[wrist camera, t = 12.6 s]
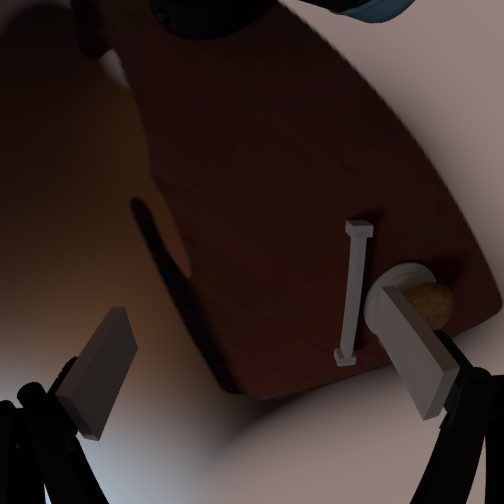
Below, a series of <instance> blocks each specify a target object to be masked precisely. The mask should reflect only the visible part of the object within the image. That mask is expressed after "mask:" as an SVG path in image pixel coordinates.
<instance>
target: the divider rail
mask: <svg viewBox="0 0 504 504" xmlns="http://www.w3.org/2000/svg"><path fill="white" fill-rule="evenodd" d="M346 232H347V233H348V234H349V235H350V236H351V247H350V261H349V273H348V284H347V294H346V304H345V313H344V321H343V329H342V337H341V344H340V348H335V351H334V357H335V360H336V363H337V365H338V367H339V366H347V365H355V362H356V355H355V353H354V351H353V345H354V339H355V333H356V326H357V320H358V313H359V305H360V298H361V290H362V281H363V272H364V262H365V251H366V238H367V237H373V225H372V224H370V223H369V222H368V221H366V220H346Z"/></svg>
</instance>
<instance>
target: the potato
mask: <svg viewBox="0 0 504 504" xmlns="http://www.w3.org/2000/svg"><path fill="white" fill-rule="evenodd" d="M401 294H402V295H403V296H404V297H405V299H406V300H407V301H408V302H409V303H410V304H411V306H412V307H413V308H414V309H415V310H416V312H417V313H418V314H419V315H420V316H421V318H422V319H423V320H424V321H425V323H426V324H427V325H428V326H429V328H430V329H431V330H432V331H433V330H437V329H439V330H440V328H441V327H442V326H443V325H444V324H445V323H446V322H447V321H448V319H449V318H450V316H451V314H452V312H453V309H454V305H455V299H454V296H453V294H452V292H451V290H450V288H449V287H447V286H445V285H442V284H438V283H435V282H427V283H421V284H419V285H416V286H413V287H411V288H409V289H407V290H405V291H403V292H401ZM378 341H379V343H380V345H381V347H382V348H383V349H384V350H385V351H386V349H385V348H384V346H383V344H382V342H381V341H380V339H379V337H378ZM386 352H387V351H386Z"/></svg>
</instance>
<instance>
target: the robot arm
mask: <svg viewBox="0 0 504 504" xmlns="http://www.w3.org/2000/svg"><path fill="white" fill-rule="evenodd" d="M300 1H303V2H307V3H310V4H313V5H317V6H319V7H323V8H326V9H328V10H329V11H330V12H332V13H334V14H338V15H346V16H349V17H352V18H354V19H358V20H360V21H363V22H366V23H383V22H386V21H389V20H391V19H393V18H395V17H396V16H398V15H399V14H401V13H402V12H403V11H405V10H406V9H407V8H408V7H409V6H410V5H411V4H412V3H413V2H414V1H415V0H300ZM149 2H150V8H151V11H152V13H153V15H154V17H155V18H156V20H157V21H158V22H159V24H160V25H161V26H162V27H163V28H164V29H165V30H167V31H168V32H170V33H171V34H173V35H175V36H178V37H181V38H185V39H190V40H210V39H216V38H220V37H223V36H226V35H229V34H231V33H233V32H235V31H237V30H239V29H241V28H242V27H243V26H245V25H246V24H247V23H248V22H249V21H250V20H251V19H252V18H253V17H254V16H255V15H256V13H257V11H258V10H259V8H260V5H261V2H262V0H149ZM375 332H376V334H377V335H378V337H379V339H380V341H381V342H382V344H383V346H384V348H385V349H386V351H387V353H388V355H389V357H390V358H391V360H392V362H393V364H394V366H395V367H396V369H397V371H398V373H399V375H400V377H401V378H402V380H403V382H404V384H405V386H406V387H407V390H408V391H409V393H410V395H411V397H412V399H413V401H414V403H415V405H416V407H417V409H418V411H419V413H420V414H421V417H422V419H423V420H427V419H430V418H433V417H436V416H439V414H440V412H441V410H442V408H443V406H444V408H445V410H446V411H447V414H446V416H445V418H444V419H443V421H442V423H441V425H440V427H439V428H440V429H441V430H440V433H439V436H438V439H437V441H436V444H435V447H434V450H433V452H432V455H431V457H430V460H429V462H428V465H427V467H426V470H425V472H424V474H423V476H422V479H421V481H420V483H419V485H418V488H417V490H416V492H415V494H414V496H413V498H412V500H411V502H410V504H466V502H467V499H468V496H469V493H470V490H471V487H472V483H473V480H474V477H475V474H476V470H477V466H478V463H479V458H480V455H481V450H482V446H483V441H484V437H485V443H486V488H485V504H504V375H493V376H491V374H490V373H489V372H488V371H487V370H486V369H483V368H481V367H473V366H472V364H471V363H470V362H469V361H468V359H467V358H466V357H465V356H464V354H463V353H462V352H461V351H460V349H458V347H457V346H456V344H455V343H453V341H452V339H451V338H450V337H449V336H448V335H447V334H446V333H444V332H443V331H441V330H439V329H437V330H433V331H432V330H431V329H430V328H429V326H428V325H427V324H426V323H425V321H424V320H423V319H422V318H421V316H420V315H419V314H418V313H417V312H416V310H415V309H414V308H413V307H412V306H411V304H410V303H409V302H408V301H407V300H406V299H405V297H404V296H403V295H402V294H401V293H400V292H399V290H398V289H397V288H396V287H395V286H394V285H390V286H382V287H381V289H380V298H379V306H378V313H377V320H376V327H375ZM137 350H138V347H137V344H136V341H135V338H134V335H133V333H132V329H131V326H130V323H129V320H128V317H127V313H126V310H125V307H111V309H110V311H109V312H108V313H107V315H106V316H105V318H104V319H103V321H102V322H101V323H100V325H99V326H98V328H97V329H96V331H95V332H94V334H93V335H92V337H91V338H90V340H89V341H88V343H87V344H86V346H85V347H84V349H83V350H82V352H81V353H80V355H79V357H73V358H72V359H70V360H69V361H68V362H67V363H66V364H65V366H64V367H63V369H62V372H60V374H59V375H58V378H56V380H55V381H54V383H53V384H52V386H51V388H50V389H49V391H48V393H46V392H45V390H44V389H43V387H42V385H41V384H40V383H38V382H31V383H28V384H26V385H24V386H23V387H22V388H21V389H20V390H19V392H18V393H17V399H18V400H19V402H20V403H21V405H22V406H23V408H15V406H14V405H13V403H12V402H11V401H9V400H3V401H0V504H46V501H45V489H44V484H45V487H46V490H47V493H48V496H49V498H50V501H51V504H109V503H108V501H107V499H106V497H105V495H104V494H103V492H102V490H101V488H100V486H99V484H98V482H97V480H96V478H95V476H94V474H93V472H92V470H91V468H90V465H89V463H88V461H87V459H86V457H85V454H84V452H83V450H82V447H81V445H80V443H79V440H78V439H77V438H76V434H77V432H78V430H79V432H80V433H81V435H82V436H83V437H84V438H86V439H90V440H95V441H99V440H100V437H101V435H102V432H103V430H104V427H105V424H106V422H107V419H108V417H109V415H110V412H111V410H112V407H113V405H114V403H115V400H116V398H117V395H118V393H119V391H120V388H121V386H122V384H123V381H124V379H125V376H126V374H127V372H128V370H129V368H130V365H131V363H132V361H133V358H134V356H135V354H136V352H137Z"/></svg>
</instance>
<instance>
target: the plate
mask: <svg viewBox="0 0 504 504" xmlns="http://www.w3.org/2000/svg"><path fill="white" fill-rule="evenodd" d="M427 282H435V283H436V280H435V277H434V275H433V274H432V272H431V271H430V270H429V269H428V268H426V267H425V266H424V265H422V264H420V263H417V262H402V263H399V264H396V265H394V266H392V267H390V268H388V269H387V270H385V271H384V272H383V273H381V274H380V275H379V276H378V277H377V278H376V279H375V281H374V282H373V283H372V285H371V286H370V288H369V290H368V292H367V294H366V297H365V300H364V304H363V315H364V319H365V322H366V324H367V326H368V327H369V329H370V330H371V331H372V332H373V333H374V334H376V332H375V327H376V320H377V313H378V306H379V298H380V289H381V287H382V286H390V285H394V286H395V287H396V288H397V289H398V290H399V292H400V293H401V292H403V291H405V290H407V289H409V288H411V287H413V286H416V285H419V284H421V283H427ZM376 335H377V334H376ZM377 336H378V335H377Z"/></svg>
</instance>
